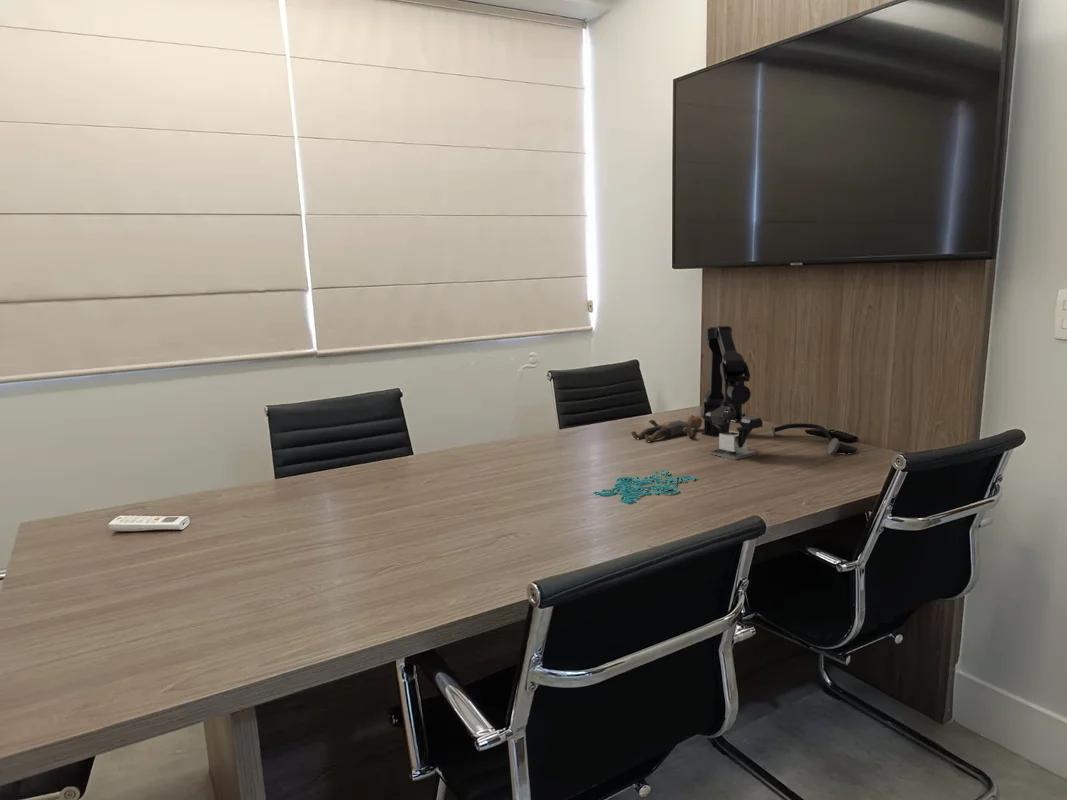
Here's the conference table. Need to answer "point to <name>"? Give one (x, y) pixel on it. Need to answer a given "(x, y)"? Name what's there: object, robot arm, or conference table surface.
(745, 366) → the robot arm
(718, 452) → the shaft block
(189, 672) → the conference table surface
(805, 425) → the hose
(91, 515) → the conference table surface
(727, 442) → the grey hollow square block
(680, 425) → the figurine
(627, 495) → the decorative art
